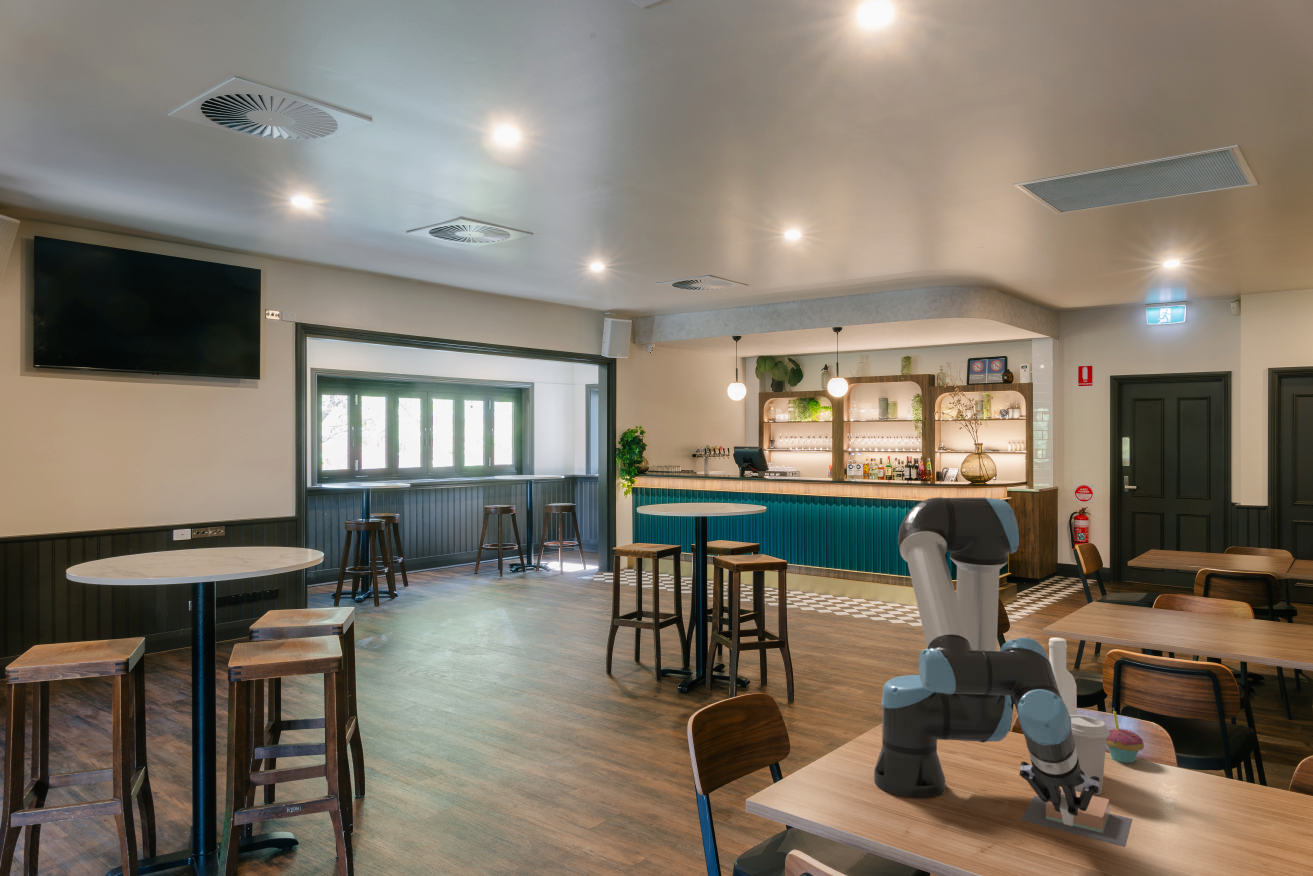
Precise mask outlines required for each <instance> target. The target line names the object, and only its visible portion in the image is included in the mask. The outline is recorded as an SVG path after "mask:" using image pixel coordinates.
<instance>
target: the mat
mask: <svg viewBox="0 0 1313 876" xmlns="http://www.w3.org/2000/svg"><path fill="white" fill-rule="evenodd" d="M1046 803H1047V802H1043V801H1042V800H1041V799H1040V798H1039V796H1038V795H1033V797H1032V799H1031V801H1030V803H1029V805H1028V807H1027V808H1026V809H1025V811H1024V813H1023V815H1022V816H1021V819H1020V821H1022V822H1026V823H1031V824H1034V825H1039V826H1041V827H1046V828H1050V829H1054V830H1058V831H1061V832H1065V833H1069V834H1073V835H1077V836H1081V837H1084V838H1087V839H1092V840H1097V841H1100V842H1104V843H1108V844H1111V845H1116V846H1119V847H1120V846H1121V847H1123V848H1124V847H1125V848H1126V844H1127V840H1128V836H1129V834H1130V833H1129V832H1130V829H1131V824H1132V821H1133V818H1129V817H1126V816H1122V815H1121V816H1120V815H1117V814H1112V813H1110V812H1109V816H1108V819H1107V822H1106V825H1105V828H1104V831H1103V833H1100V832H1096V831H1092V830H1089V829H1085V828H1081V827H1077V826H1070V825H1066V824H1064V823H1061V822H1057V821H1053V820H1049V819H1046Z"/></svg>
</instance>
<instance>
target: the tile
mask: <svg viewBox="0 0 1313 876" xmlns="http://www.w3.org/2000/svg"><path fill="white" fill-rule="evenodd" d="M1060 790H1061V794H1063V795H1065V793H1063V789H1062V787H1060ZM1075 792H1076V796H1077V797H1080V794H1081V792H1077V791H1075ZM1109 813H1110V799H1108V798H1105V797H1102V796H1098V795H1093V796H1092V798H1091V800H1090V803H1089V805H1088V807H1087V810H1086V811H1082V810H1080V809H1079V808H1078V815H1077V816H1075V815H1074V818H1073V826H1077V827H1081V828H1085V829H1089V830H1092V831H1096V832H1100V833H1103V831H1104V828H1105V825H1106V822H1107V819H1108V816H1109ZM1046 819H1049V820H1053V821H1057V822H1061V823H1063V819H1062V815H1061V812H1058V811H1056V810H1055V808H1054V805H1053V804H1052V802H1050V801H1048V802H1047V803H1046Z"/></svg>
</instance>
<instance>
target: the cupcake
mask: <svg viewBox="0 0 1313 876" xmlns="http://www.w3.org/2000/svg"><path fill="white" fill-rule="evenodd" d="M1112 714H1113V720H1114V724H1115V728H1112V729H1109V730H1108V731H1109V736H1107V740H1106V747H1108V750H1109V753H1110V757H1111V759H1112V760H1114V761H1116V762H1119V763H1122V764H1123V763H1125V764H1133V763H1134V762H1135V761H1136V758H1137V755H1138V754H1139V752H1140V751H1141V750H1142V751H1143V750H1144V747H1145V744H1144V743H1145V742H1144V739H1142V737H1141V736H1139V734H1138V733H1135V732H1134V731H1131V730H1128V729H1125V728H1120V726H1119V721H1118V715H1117V711H1115V708H1114V707H1112Z"/></svg>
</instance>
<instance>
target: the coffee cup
mask: <svg viewBox="0 0 1313 876" xmlns="http://www.w3.org/2000/svg"><path fill="white" fill-rule="evenodd" d="M1070 718H1071V728H1072V734H1073V738H1074V742H1075V746H1076V750H1077V755H1078V760H1079V764H1080V769H1081V770H1082V771H1083V772H1084V773H1085V776H1086V777H1089V778H1090V777H1092V776H1096V777H1098V778H1099V779H1100V780H1099V792H1098V793H1096V794H1094V795H1093V796H1100V795H1101V794H1102V793H1103V781H1104V771H1105V770H1104V769H1105V759H1106V748H1107V744H1106V740H1107V736H1109V730H1108V729H1109V728H1108V727H1107V726H1106V723H1105V722H1104V721H1103V720H1102V719H1099V718H1097V717H1093V716H1090V715H1082V714H1081V715H1080V714H1077V715H1070ZM1083 787H1084V786H1083V784H1080V785H1078V786H1076V787H1075V792H1079V793H1081V792H1082V789H1083Z"/></svg>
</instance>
